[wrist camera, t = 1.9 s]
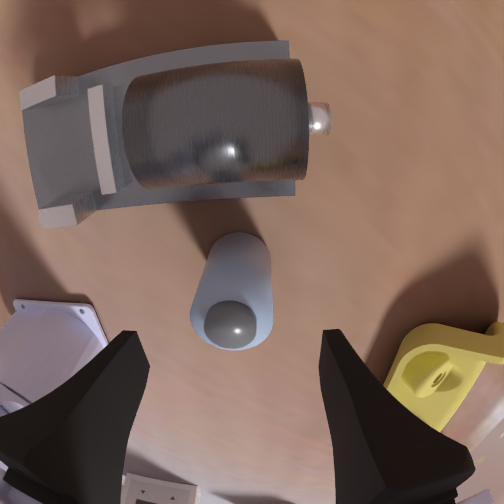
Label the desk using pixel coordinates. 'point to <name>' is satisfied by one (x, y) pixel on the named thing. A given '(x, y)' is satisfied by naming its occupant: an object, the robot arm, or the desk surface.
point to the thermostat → (157, 491)
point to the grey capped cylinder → (234, 294)
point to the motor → (170, 130)
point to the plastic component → (441, 368)
